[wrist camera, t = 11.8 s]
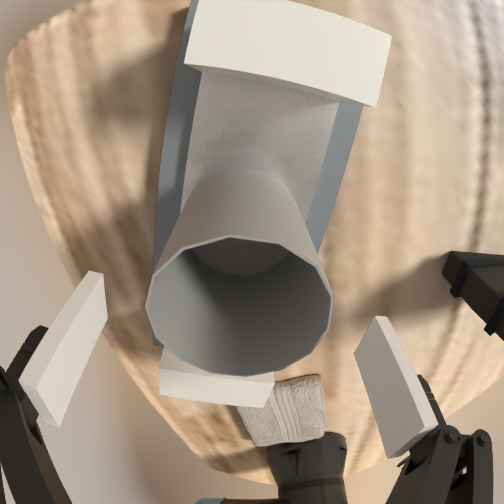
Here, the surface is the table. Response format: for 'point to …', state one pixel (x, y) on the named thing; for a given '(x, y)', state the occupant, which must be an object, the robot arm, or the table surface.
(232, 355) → the cup
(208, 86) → the steel rail
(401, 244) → the table surface
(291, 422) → the washcloth
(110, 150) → the table surface
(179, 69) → the rail board
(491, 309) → the black ribbed block
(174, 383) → the module
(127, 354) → the table surface
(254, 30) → the block
